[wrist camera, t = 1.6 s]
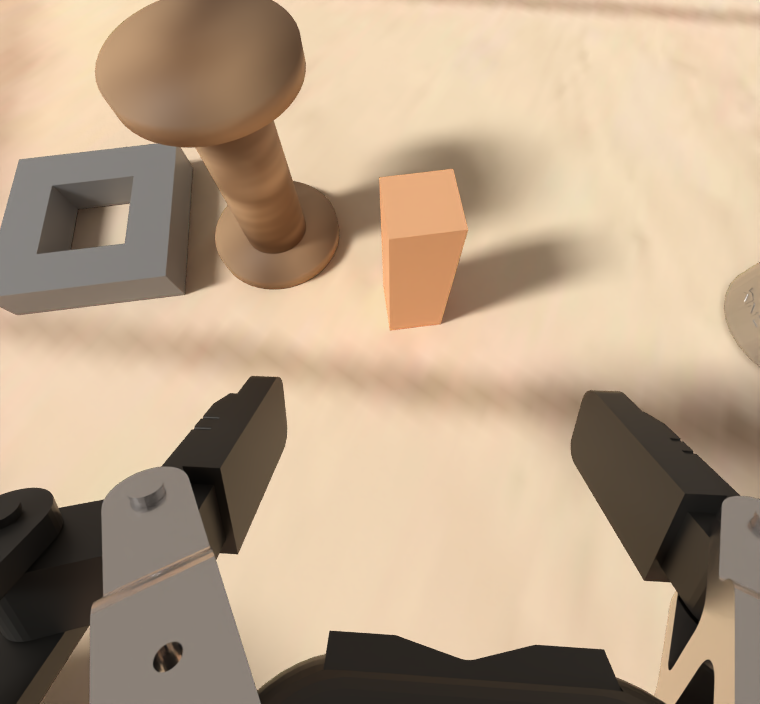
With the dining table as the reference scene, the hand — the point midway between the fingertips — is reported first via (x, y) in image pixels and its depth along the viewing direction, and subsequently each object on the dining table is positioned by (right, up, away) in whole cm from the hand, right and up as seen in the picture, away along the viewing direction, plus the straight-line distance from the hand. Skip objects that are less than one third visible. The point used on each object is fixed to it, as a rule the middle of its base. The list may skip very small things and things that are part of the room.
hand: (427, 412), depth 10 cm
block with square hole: (-22, +11, +19) cm, 31 cm away
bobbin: (-9, +10, +19) cm, 23 cm away
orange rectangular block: (+1, +5, +16) cm, 17 cm away
